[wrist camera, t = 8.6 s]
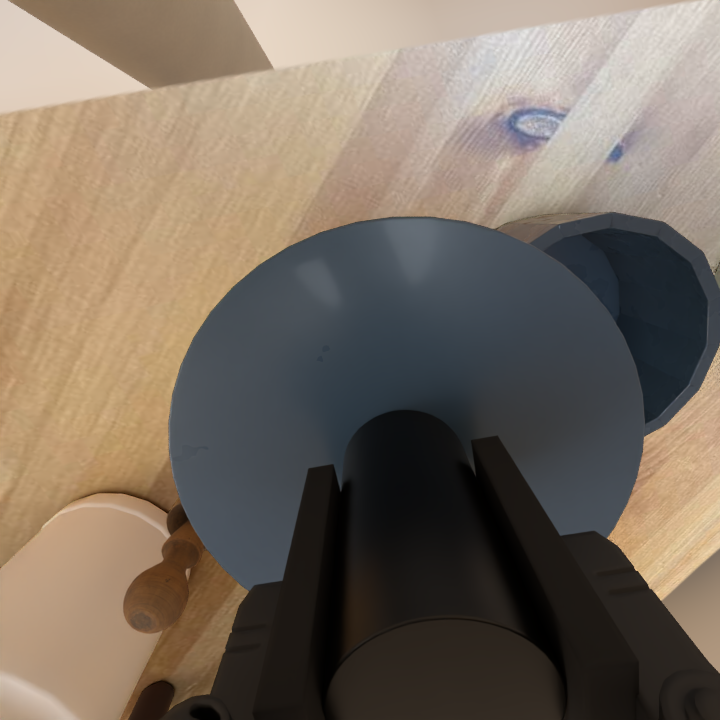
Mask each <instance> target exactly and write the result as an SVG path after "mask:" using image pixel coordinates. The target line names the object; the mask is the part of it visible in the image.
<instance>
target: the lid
mask: <svg viewBox="0 0 720 720" xmlns="http://www.w3.org/2000/svg"><path fill="white" fill-rule="evenodd" d="M644 428H645V418H644V405H643V394H642V389H641V385H640V381H639V377H638V373H637V368H636V365H635V362H634V360H633V357H632V355H631V353H630V350H629V348H628V345H627V343H626V340H625V338H624V336H623V334H622V333H621V331H620V329H619V328H618V326H617V324H616V323H615V321H614V320H613V318H612V316H611V315H610V313H609V311H608V310H607V309H606V307H605V306H604V305H603V304H602V303H601V302H600V300H599V299H598V298H597V297H596V296H595V295H594V293H593V292H592V291H591V290H590V289H589V287H588V286H587V285H586V284H585V283H583V282H582V281H581V280H580V279H579V278H578V277H576V276H575V275H574V274H573V273H572V272H571V271H570V270H568V269H567V268H566V267H565V266H564V265H563V264H561V263H560V262H558V261H557V260H555V259H553V258H552V257H550V256H549V255H547V254H546V253H544V252H542V251H541V250H539V249H538V248H536V247H534V246H533V245H531V244H528V243H526V242H524V241H522V240H519V239H517V238H515V237H513V236H510V235H508V234H506V233H504V232H501V231H498V230H495V229H491V228H488V227H484V226H480V225H477V224H473V223H470V222H466V221H459V220H452V219H444V218H437V217H388V218H381V219H374V220H367V221H360V222H355V223H351V224H348V225H344V226H341V227H337V228H334V229H330V230H327V231H323V232H320V233H318V234H316V235H314V236H311V237H309V238H307V239H305V240H302V241H300V242H298V243H296V244H293V245H291V246H289V247H287V248H286V249H284V250H282V251H281V252H279V253H277V254H276V255H274V256H273V257H271V258H269V259H268V260H266V261H265V262H263V263H261V264H260V265H258V266H257V267H256V268H255V269H254V270H252V271H251V272H250V273H249V274H248V275H246V276H245V277H244V278H243V279H242V280H240V281H239V282H238V283H237V284H236V285H235V286H233V287H232V288H231V290H230V291H229V292H228V293H227V294H226V295H225V296H224V297H223V299H222V300H221V301H220V302H219V303H218V304H217V305H216V306H215V307H214V309H213V310H212V311H211V312H210V314H209V315H208V317H207V318H206V320H205V321H204V323H203V324H202V326H201V327H200V329H199V330H198V332H197V333H196V335H195V336H194V338H193V340H192V342H191V344H190V347H189V349H188V351H187V353H186V355H185V357H184V359H183V362H182V364H181V366H180V370H179V373H178V376H177V380H176V383H175V387H174V390H173V393H172V401H171V408H170V415H169V454H170V461H171V467H172V473H173V478H174V482H175V485H176V488H177V491H178V495H179V498H180V501H181V504H182V506H183V508H184V510H185V512H186V514H187V517H188V519H189V521H190V523H191V525H192V527H193V529H194V530H195V532H196V533H197V535H198V536H199V538H200V540H201V541H202V543H203V544H204V546H205V547H206V549H207V550H208V551H209V552H210V554H211V555H212V556H213V557H214V558H215V559H216V561H217V562H218V563H219V564H220V565H221V567H222V568H223V569H224V570H225V571H226V572H227V573H229V574H230V575H231V576H232V577H233V578H234V579H235V580H236V581H237V582H238V583H239V584H240V585H241V586H243V587H244V588H245V589H247V590H248V591H249V592H250V590H251V589H252V587H253V586H254V585H257V584H264V583H270V582H277V581H283V576H284V572H285V568H286V563H287V559H288V554H289V550H290V546H291V541H292V537H293V533H294V528H295V524H296V520H297V515H298V511H299V507H300V502H301V498H302V494H303V489H304V485H305V481H306V476H307V472H308V468H313V467H319V466H324V465H330V464H334V468H335V472H336V475H337V479H338V483H339V487H340V491H341V497H340V508H339V519H338V531H337V542H336V553H335V564H334V576H333V587H332V598H331V610H330V621H329V632H328V643H327V655H326V666H325V677H324V689H323V700H322V703H323V713H324V717H325V720H563V719H564V716H565V711H566V706H567V691H566V685H565V680H564V677H563V674H562V672H561V669H560V667H559V665H558V662H557V660H556V658H555V655H554V653H553V651H552V649H551V646H550V644H549V642H548V640H547V637H546V635H545V633H544V630H543V628H542V626H541V624H540V621H539V619H538V617H537V615H536V612H535V610H534V608H533V605H532V603H531V601H530V599H529V596H528V594H527V592H526V590H525V587H524V585H523V583H522V580H521V578H520V576H519V574H518V571H517V569H516V567H515V564H514V562H513V560H512V558H511V555H510V553H509V551H508V549H507V546H506V544H505V542H504V539H503V537H502V535H501V533H500V530H499V528H498V526H497V524H496V521H495V519H494V517H493V514H492V512H491V510H490V508H489V505H488V503H487V501H486V499H485V496H484V494H483V492H482V489H481V487H480V485H479V483H478V480H477V478H476V473H475V466H474V458H473V451H472V444H471V440H474V439H479V438H485V437H491V436H497V435H498V437H499V438H500V440H501V442H502V443H503V445H504V446H505V448H506V450H507V451H508V453H509V454H510V456H511V458H512V459H513V461H514V462H515V464H516V466H517V467H518V469H519V470H520V472H521V474H522V475H523V477H524V478H525V480H526V482H527V483H528V485H529V486H530V488H531V490H532V491H533V493H534V494H535V496H536V498H537V499H538V501H539V502H540V504H541V506H542V507H543V509H544V510H545V512H546V514H547V515H548V517H549V518H550V520H551V522H552V523H553V525H554V526H555V528H556V530H557V531H558V533H559V534H560V536H562V535H568V534H575V533H581V532H588V531H594V530H595V531H596V532H598V533H599V534H601V535H602V536H604V537H605V538H607V537H608V536H609V535H610V533H611V532H612V530H613V529H614V527H615V526H616V524H617V522H618V520H619V518H620V516H621V514H622V513H623V511H624V509H625V507H626V505H627V503H628V500H629V498H630V495H631V492H632V490H633V487H634V484H635V482H636V479H637V475H638V471H639V466H640V462H641V457H642V453H643V442H644Z"/></svg>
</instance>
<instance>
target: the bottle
mask: <svg viewBox="0 0 720 720" xmlns="http://www.w3.org/2000/svg"><path fill="white" fill-rule="evenodd" d="M167 515H168V514H167V513H166V512H164V511H162V510H161V509H159V508H158V507H156V506H155V505H153V504H152V503H150V502H149V501H146V500H142V499H139V498H136V497H133V496H129V495H126V494H114V493H97V494H94V495H91V496H88V497H85V498H82V499H79V500H76V501H73V502H72V503H70V504H69V505H67V506H66V507H65V508H63V509H62V510H61V511H59V512H58V513H57V514H56V515H55V516H53V517H52V518H51V519H50V520H49V521H47V522H46V523H45V524H44V525H43V527H42V529H41V530H40V531H39V532H38V533H37V534H36V535H35V536H34V537H33V538H32V539H31V540H30V541H29V542H28V543H27V544H26V545H25V546H24V547H22V548H21V549H20V550H19V551H18V552H17V553H16V554H15V555H14V556H13V557H12V558H11V559H10V560H9V561H8V562H7V563H6V564H4V565H3V566H2V567H1V568H0V720H120V718H121V716H122V714H123V712H124V710H125V707H126V705H127V703H128V701H129V699H130V697H131V695H132V693H133V691H134V689H135V687H136V685H137V683H138V681H139V679H140V676H141V674H142V672H143V670H144V668H145V666H146V664H147V662H148V660H149V658H150V656H151V654H152V652H153V650H154V648H155V646H156V644H157V642H158V640H159V638H160V636H161V634H162V631H160V632H157V633H153V634H145V633H141V632H138V631H136V630H134V629H133V628H132V627H131V626H130V625H129V624H128V623H127V621H126V619H125V617H124V612H123V602H124V597H125V594H126V592H127V589H128V588H129V586H130V584H131V583H132V582H133V580H134V579H135V578H136V577H137V576H138V575H139V574H141V573H142V572H144V571H145V570H147V569H149V568H151V567H153V566H155V565H157V564H159V563H161V562H162V561H163V556H162V552H161V550H162V546H163V544H164V543H165V542H166V540H167V539H168V538H169V537H170V536H171V535H170V534H169V532H168V529H167V524H166V520H167ZM190 569H191V568H189V569H187V570H186V576H187V582H188V579H189V576H190Z"/></svg>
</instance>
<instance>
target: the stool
mask: <svg viewBox="0 0 720 720" xmlns="http://www.w3.org/2000/svg"><path fill="white" fill-rule="evenodd" d="M173 696H174V690H173V688H172V686H170V685H169V684H166V683H164V682H163V681H161V682H159V683H156V684H153V685H151V686H149V687H147V688H146V689H145V690H144V691H143V692H142V693H141V695H140V696H139V698H138V700H137V702H136V704H135V707H134V709H133V711H132V713H131V715H130V717H129V719H128V720H159V719H160V718H162V717H163V716H164V715H165V714H166V713H167V712H168V710H169V707H170V705H171V702H172V699H173Z"/></svg>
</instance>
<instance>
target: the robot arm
mask: <svg viewBox="0 0 720 720" xmlns="http://www.w3.org/2000/svg"><path fill="white" fill-rule="evenodd" d="M471 444H472V451H473V458H474V466H475V473H476V478H477V480H478V483H479V485H480V487H481V489H482V492H483V494H484V496H485V499H486V501H487V503H488V505H489V508H490V510H491V512H492V514H493V517H494V519H495V521H496V524H497V526H498V528H499V530H500V533H501V535H502V537H503V539H504V542H505V544H506V546H507V549H508V551H509V553H510V555H511V558H512V560H513V562H514V564H515V567H516V569H517V571H518V574H519V576H520V578H521V580H522V583H523V585H524V587H525V590H526V592H527V594H528V596H529V599H530V601H531V603H532V605H533V608H534V610H535V612H536V615H537V617H538V619H539V621H540V624H541V626H542V628H543V630H544V633H545V635H546V637H547V640H548V642H549V644H550V646H551V649H552V651H553V653H554V655H555V658H556V660H557V662H558V665H559V667H560V669H561V672H562V674H563V677H564V680H565V685H566V691H567V706H566V711H565V716H564V719H563V720H720V673H718V671H717V670H716V669H715V668H714V667H713V666H712V665H711V664H710V663H709V662H708V660H707V659H706V658H705V657H704V655H703V654H702V653H701V652H700V650H699V649H698V648H697V647H696V645H695V644H694V643H693V641H692V640H691V639H690V638H689V636H688V635H687V634H686V632H685V631H684V630H683V629H682V627H681V626H680V625H679V623H678V622H677V621H676V620H675V618H674V617H673V616H672V615H671V614H670V612H669V611H668V609H667V608H666V607H665V606H664V604H663V603H662V602H661V601H660V599H659V598H658V597H657V595H656V594H655V593H654V592H653V590H652V589H649V587H648V584H647V583H646V581H645V580H644V579H643V578H642V576H641V575H640V574H639V572H638V571H635V569H634V566H633V565H632V564H631V562H630V561H629V560H628V558H627V557H626V556H625V555H624V553H623V552H622V551H621V549H620V548H619V547H618V546H617V545H615V544H614V543H612V542H611V541H609V540H608V539H607V538H605V537H604V536H602V535H601V534H599V533H598V532H596V531H595V530H594V531H588V532H581V533H575V534H568V535H562V536H560V534H559V533H558V531H557V530H556V528H555V526H554V525H553V523H552V522H551V520H550V518H549V517H548V515H547V514H546V512H545V510H544V509H543V507H542V506H541V504H540V502H539V501H538V499H537V498H536V496H535V494H534V493H533V491H532V490H531V488H530V486H529V485H528V483H527V482H526V480H525V478H524V477H523V475H522V474H521V472H520V470H519V469H518V467H517V466H516V464H515V462H514V461H513V459H512V458H511V456H510V454H509V453H508V451H507V450H506V448H505V446H504V445H503V443H502V442H501V440H500V438H499V437H498V435H497V436H491V437H485V438H479V439H474V440H471ZM340 497H341V491H340V487H339V483H338V479H337V475H336V472H335V468H334V464H330V465H324V466H319V467H313V468H308V472H307V476H306V481H305V485H304V489H303V494H302V498H301V502H300V507H299V511H298V515H297V520H296V524H295V528H294V533H293V537H292V541H291V546H290V550H289V554H288V559H287V563H286V568H285V572H284V576H283V581H277V582H270V583H264V584H257V585H254V586H253V587H252V589H251V590H250V592H249V593H248V594H247V596H246V597H245V598H244V600H243V601H242V603H241V604H240V605H239V608H238V611H237V614H236V617H235V620H234V623H233V626H232V633H230V635H229V638H228V641H227V644H226V647H225V649H226V651H225V653H224V654H223V657H222V660H221V663H220V666H219V669H218V672H217V675H216V678H215V681H214V684H213V687H212V690H211V693H210V695H209V694H207V695H201V696H194V697H191V698H189V699H187V700H185V701H183V702H181V703H179V704H177V705H175V706H174V707H173V708H172V709H171V710H169V711H168V712H167V713H166V714H165V715H164V716H163V717H162V718H160V719H159V720H325V717H324V713H323V703H322V700H323V689H324V677H325V666H326V655H327V643H328V632H329V621H330V610H331V598H332V587H333V576H334V564H335V553H336V542H337V531H338V519H339V508H340Z"/></svg>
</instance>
